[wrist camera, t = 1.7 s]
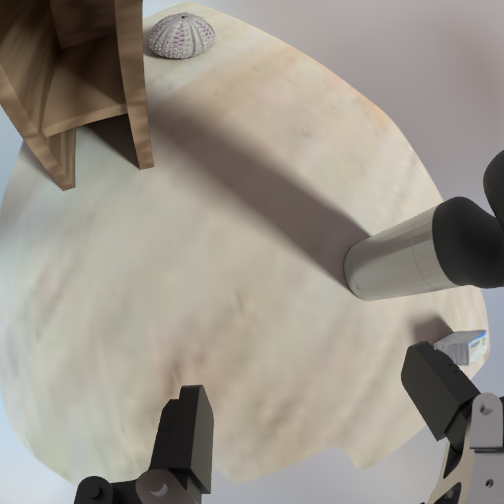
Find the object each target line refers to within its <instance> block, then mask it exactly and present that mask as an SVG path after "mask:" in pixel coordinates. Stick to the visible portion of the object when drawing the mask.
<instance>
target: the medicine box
mask: <svg viewBox="0 0 504 504" xmlns="http://www.w3.org/2000/svg"><path fill="white" fill-rule="evenodd" d="M434 349H435V350H436V349H438V350H440V351H442V352H444V353H446V354H447V355H448V356H449V357H450V358H451V359H452V360H453V361H454V364H456V365H459V366H469V365H470V364H471V363H473V362H474V361H475V360H476V359H478V358H479V357H480V356H481V355H482V354H484V353H485V352H486V351H487V334H486V330H475V331H459V332H454V333H452V334H450V335H448V336H446V337H445V338H443V339H441V340H439V341H437V342H435V343H434Z"/></svg>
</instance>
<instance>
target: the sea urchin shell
mask: <svg viewBox="0 0 504 504" xmlns="http://www.w3.org/2000/svg"><path fill="white" fill-rule="evenodd" d="M150 32H151V33H150V35H149V36H148V37H149V39H148V42H149V43H148V45H149V48H151V50H152V51H154V53H157V55H160V56H166V57H167V58H168V57H169V58H175V59H176V58H181V59H183V58H185V59H186V58H188V57H194V56H199V55H200V54H202V53H205V52H206V51H207V50H209V48H211V47H212V44H213V43H214V39H215V38H214V37H215V32H214V29H213V28H212V26H211V25H210V24H209V23H208V22H207V21H205V20H204V19H202V17H199V16H195V15H193V14H190V13H186V12H184V13H179V14H175V15H169V16H168V17H165V18H164V19H162V20H160V21H159V22H158V23H157V24H156V25H155V26H154V27H153V28H152V30H151V31H150Z"/></svg>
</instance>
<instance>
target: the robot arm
mask: <svg viewBox="0 0 504 504" xmlns="http://www.w3.org/2000/svg"><path fill="white" fill-rule="evenodd" d="M483 185H484V186H483V187H484V191H485V194H486V197H487V199H488V202H489V204H490V206H491V209H492V211H493V212H494V214H495V216H496V217H494V216H492V215H490V214H489V213H487V212H486V211H484V210H483V209H482V208H480V207H479V206H478V205H477V204H475V203H474V202H473V201H471V200H470V199H468V198H465V197H454V198H451V199H449V200H447V201H445V202H443V203H441V204H440V205H437V206H435V207H433V208H431V209H429V210H427V211H425V212H423V213H421V214H419V215H417V216H415V217H413V218H411V219H409V220H407V221H404V222H402V223H400V224H398V225H396V226H394V227H392V228H389V229H387V230H385V231H383V232H381V233H378V234H376V235H374V236H372V237H369V238H367V239H365V240H363V241H361V242H358V243H357V244H355V245H353V246H352V247H351V248H350V250H349V251H348V253H347V255H346V258H345V263H344V273H345V278H346V281H347V284H348V286H349V287H350V289H351V291H352V292H353V293H354V294H355V295H356V296H358V297H359V298H361V299H363V300H368V301H372V300H380V299H388V298H395V297H402V296H409V295H415V294H421V293H427V292H433V291H439V290H444V289H449V288H455V287H460V286H465V285H473V286H476V287H479V288H487V289H488V288H497V287H504V150H503V151H501V152H500V153H499V154H498V155H497V156H496V157H495V158H494V159H493V160H492V161H491V162H490V164H489V165H488V167H487V169H486V171H485V174H484V178H483ZM401 381H402V384H403V386H404V388H405V390H406V391H407V393H408V394H409V396H410V398H411V399H412V401H413V402H414V404H415V406H416V407H417V409H418V410H419V412H420V414H421V415H422V417H423V419H424V420H425V422H426V423H427V425H428V426H429V428H430V430H431V432H432V434H433V435H434V437H435V439H436V440H437V441H439V440H441V439H443V438H445V437H447V438H448V442H447V445H446V450H445V454H444V459H443V463H442V468H441V472H440V476H439V480H438V482H437V485H436V487H435V489H434V490H433V492H432V493H431V495H430V498H429V500H428V503H427V504H504V396H503V397H500V398H498V397H497V396H496V395H494V394H492V393H482V394H481V393H480V392H479V391H478V389H477V388H476V387H475V386H474V384H473V383H472V382H471V381H470V380H469V379H468V377H467V376H466V375H465V374H464V373H463V372H462V370H460V368H459V367H458V366H457V365H456V364H454V361H453V360H452V359H451V358H450V357H449V356H448V355H447V354H446V353H444V352H442V351H440V350H438V349H436V350H435V349H434V348H433V347H432V346H431V345H430V344H429V343H428V342H427V341H423V342H420V343H417V344H415V345H412V346H409V347H408V349H407V353H406V357H405V361H404V365H403V368H402V372H401ZM213 428H214V418H213V412H212V408H211V406H210V403H209V400H208V398H207V395H206V392H205V389H204V387H203V385H189V386H182V387H181V390H180V395H179V399H170V400H169V402H168V403H167V404H166V406H165V407H164V408H163V410H162V414H161V418H160V423H159V427H158V432H157V435H156V440H155V444H154V449H153V454H152V458H151V463H150V467H149V469H148V470H147V471H146V472H144V473H143V474H141V475H140V476H139V478H138V479H135V480H132V481H125V482H116V483H109V482H108V481H107V480H105V479H104V478H102V477H98V476H91V477H87V478H85V479H84V480H82V481H81V483H80V484H79V486H78V489H77V493H76V497H75V501H74V504H201V496H202V494H210V493H211V469H212V447H213ZM421 504H425V503H424V502H423V503H421Z"/></svg>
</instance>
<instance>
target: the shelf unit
mask: <svg viewBox="0 0 504 504" xmlns="http://www.w3.org/2000/svg"><path fill="white" fill-rule="evenodd" d="M142 3H143V0H0V104H1V106H2V108H3V109H4V111H5V112H6V114H7V115H8V117H9V119H10V120H11V121H12V123H13V125H14V126H15V128H16V129H17V131H18V132H19V133H20V135H21V136H22V138H23V139H24V141H25V142H26V143H27V145H28V146H29V148H30V149H31V150H32V152H33V153H34V154H35V156H36V157H37V158H38V160H39V161H40V162H41V164H42V165H43V166H44V168H45V169H46V170H47V171H48V173H49V174H50V175H51V176H52V178H53V179H54V180H55V181H56V183H57V184H58V185H59V186H60V188H61V189H62V190H63V191H65V190H68V189H71V188H74V187H75V144H76V127H78V126H81V125H84V124H87V123H91V122H94V121H98V120H102V119H105V118H109V117H113V116H117V115H121V114H126V113H128V115H129V120H130V125H131V130H132V135H133V140H134V144H135V149H136V153H137V158H138V162H139V166H140V170H142V169H146V168H151V167H154V162H153V155H152V148H151V140H150V132H149V123H148V114H147V104H146V92H145V79H144V62H143V34H142Z"/></svg>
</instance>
